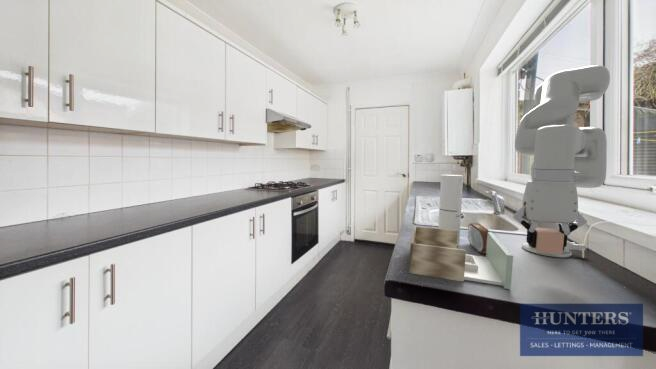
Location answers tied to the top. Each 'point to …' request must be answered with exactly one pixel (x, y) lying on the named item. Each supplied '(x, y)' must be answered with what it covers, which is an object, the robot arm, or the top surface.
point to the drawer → (490, 264)
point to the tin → (478, 237)
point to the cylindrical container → (450, 203)
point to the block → (549, 241)
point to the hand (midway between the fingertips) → (545, 246)
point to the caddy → (436, 254)
